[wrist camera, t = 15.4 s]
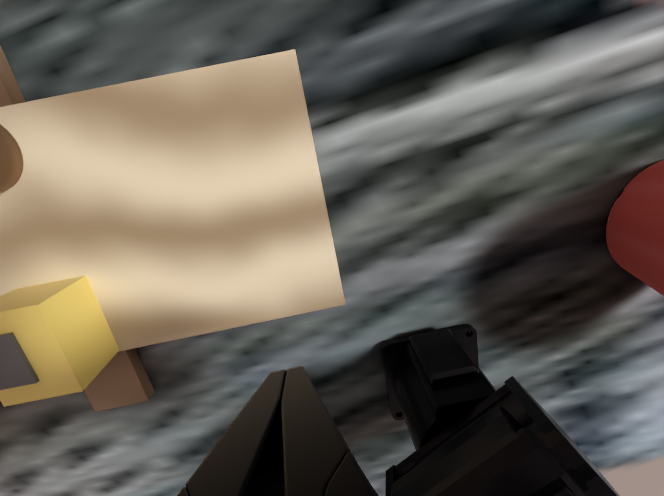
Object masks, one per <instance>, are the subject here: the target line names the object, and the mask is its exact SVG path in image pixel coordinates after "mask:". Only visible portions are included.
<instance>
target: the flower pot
mask: <svg viewBox="0 0 664 496" xmlns="http://www.w3.org/2000/svg"><path fill="white" fill-rule="evenodd" d="M606 241H607V246H608V249H609V252H610V254H611V256H612V258H613V259H614V260H615V261H616V262H617V264H618V265H620V266H621V267H622V268H623V269H625V270H626V271H628V272H629V273H630V274H632V275H633V276H635V277H636V278H638V279H639V280H641V281H642V282H644V283H645V284H647V285H648V286H650V287H651V288H653V289H654V290H656V291H657V292H659V293H660V294H662V295H663V296H664V160H662V161H659V162H657V163H655V164H653V165H651V166H650V167H648V168H646V169H645V170H643V171H642V172H640V173H639V174H638V175H637V176H636V177H634V178H633V179H632V180H631V181H630V182H629V183H628V184H627V186H626V187H625V188H624V191H623V193H622V194H621V196H620V197H619V198H618V199H617V200H616V201H615V203H614V205H613V207H612V209H611V211H610V214H609V217H608V221H607V226H606Z"/></svg>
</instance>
